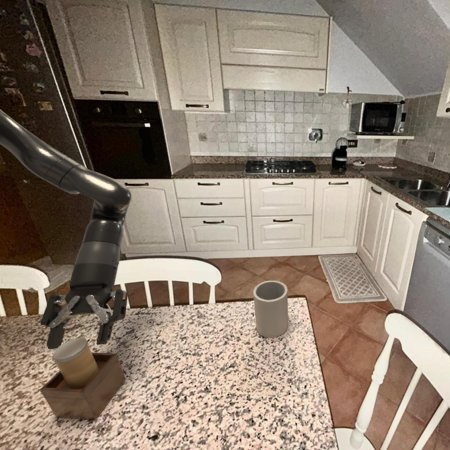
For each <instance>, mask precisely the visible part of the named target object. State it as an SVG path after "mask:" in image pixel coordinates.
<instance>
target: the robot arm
mask: <svg viewBox="0 0 450 450" xmlns="http://www.w3.org/2000/svg"><path fill="white" fill-rule="evenodd" d="M0 145H1V147H3V148H5V149H6V150H8V151H9V152H10V153H11V154H12V155H13V156H14V157H15V158H16V159H17V160H18V161H19V162H20V164H22V165H23V166H24V167H25V168H26V169H27V170H28V171H29V172H31V173H32V174H33V175H35V176H37V178H40V179H41V180H43V181H45V182H47V183H48V184H50V185H52V186H54V187H56V188H57V189H60V190H61V191H64V192H65V193H68V194H71V195H79V194H82V195H84V196H86V197H88V198H89V199H92V200H93V205H92V209H91V214H90V218H89V219H90V220H89V223H88V224H87V226H86V228H85V230H84V235H83V239H82V242H81V245H80V247H79V250H78V252H77V255H76V258H75V262H74V265H73V268H72V271H71V272H72V273H71V276H70V280H69V283H68V285H69V291H68V293H67V294H57V293H52V294H51V295H49V298H48V301H47V303H46V306H45V309H44V312H43V313H42V317H41V319H40V322H39V323H40V325H41V326H46V327H48V328H49V333H48V337H47V339H46V347H47V350H56V349H57V348H58V347H59V346H61V345H62V344H63V340H64V336H65V332H66V329H67V328H66V326H67V325H68V324H69V323H70V322H71V321H72V320H74V319H75V318H77V317H78V316H79V315H80V316H82V315H87V314H90V315H91V314H92V315H93V314H95V315H96V316H97V317H98V318H99V319H100V322H101V324H99V329H98V332H97V338H96V342H95V343H96V345H97V346H100V345H107V343H108V341H110V340H111V337H112V332H113V326H114V324H115V323H117V322H118V321H122V320H124V319H125V318H126V314H127V308H128V307H127V306H128V297H129V292H128V291H127V290H125V289H117V290H113V289H114V286H115V283H116V279H117V273H118V269H119V266H120V259H121V248H122V243H123V239H124V225H125V221H126V217H127V214H128V210H129V207H130V205H131V202H132V198H133V197H132V192H131V190H129V188H128V187H127V186H126V185H124V184H123V183H122V182H121V181H119V180H117V179H115V178H113V177H110V176H108V175H105V174H102V173H100V172H97V171H94V170H91V169H88V167H86V166H84V165H83V164H81V163H80V162H77V161H76V160H74V159H73V158H71V157H70V156H68V155H66V154H64V153H63V152H61V151H59V150H58V149H57V148H55V147H53V146H52V145H50V144H48V143H46V142H45V141H43V140H42V139H41V138H39V137H38V136H36V135H35V134H34V133H32V132H30V131H29V130H28V129H26V128H25V127H24V126H23V125H22V124H20V123H18V122H17V121H16V120H14V118H12V117H11V116H9V114H7V113H5V112H4V111H3V110H2V109H0ZM111 300H112V301H113V308H112V309H111V307H110V305H109V304H108V303H109V302H110V301H111ZM64 305H65V306H64Z"/></svg>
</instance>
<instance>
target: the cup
mask: <svg viewBox="0 0 450 450" xmlns="http://www.w3.org/2000/svg"><path fill="white" fill-rule="evenodd" d="M288 291H289V290H288V286H287V285H286V284H285V283H283V282H282V281H279V280H265V281H263V282H262V281H261V282H260V283H259V284H257V285H256V286H255V287H254V289H253V291H252V292H253V293H252V294H253V305H254V306H253V307H254V318H255V328H256V332H257V333H258V334H259V335H261V336H263V337H264V338H277V337H279V336H281V335H283V334H284V333H285V332H286V331H287V329H288V327H289V299H288V298H289V296H288V295H289V293H288Z"/></svg>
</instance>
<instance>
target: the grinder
mask: <svg viewBox="0 0 450 450" xmlns="http://www.w3.org/2000/svg"><path fill="white" fill-rule="evenodd" d="M52 359H53V361H54V362H55V364H56V366H57V368H58V369H59V370H58V371H61V373H62V375H63V377H64V379H65V381H66V383H67V385H68V387H69V388H71V389H78V388H81V387H83V386H85V385H87V384H88V382H89V381H90V380H91V379H92V378H93V377H94V376H95V374H96V373H97V372H98V371H99V368H98V366H97V364H96V361H95V359H94V357H93V355H92V350H91V347H90V346H89V342H88V340H87V339H86V338H84V337H76V338H73V339H70V340H68V341H65V342H63V343H62V344H61V346H59V347H58V348H57V349H54V351H53V352H52Z"/></svg>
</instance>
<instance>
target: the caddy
mask: <svg viewBox="0 0 450 450" xmlns="http://www.w3.org/2000/svg"><path fill="white" fill-rule="evenodd" d="M91 352H92V351H91ZM92 355H93V357H94V359H95V361H96V364H97V366H98V368H99V371H98V372H97V373H96V374H95V376H94V377H93V378H92V379H91V380H90V381H89V382H88V384H87V385H85V386H83V387H81V388H78V389H71V388H69V387H68V385H67V383H66V381H65V379H64V377H63V375H62V373H61V371H60V370H58V372H57V373H55V375H54V376H52V377H51V378H50V380H48V381H47V382H46V383H45V384H44V385H43V386H42V387H41V388H40V389H39V391H40V393H41V395H42V396H43V398H44V399H45V401H46V403H47V404H48V406H49V408H50V410H51V411H52V413H53V415H54V417H55V418H62V419H63V418H64V419H78V420H79V419H80V420H81V419H82V420H97V419H98V417H99V416H100V415H101V414H102V412H103V411H104V410H105V408H106V407H107V405H108V404H109V403H110V402H111V400H112V399H113V398H114V396H115V395H116V394H117V392H118V391H119V389H120V388H121V387H122V385H123V384H124V383H125V381H126V380H127V378H126V376H125V373H124V370H123V367H122V365H121V362H120V360H119V358H118V355H117V353H115V352H114V353H112V352H94V351H93V352H92Z"/></svg>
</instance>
